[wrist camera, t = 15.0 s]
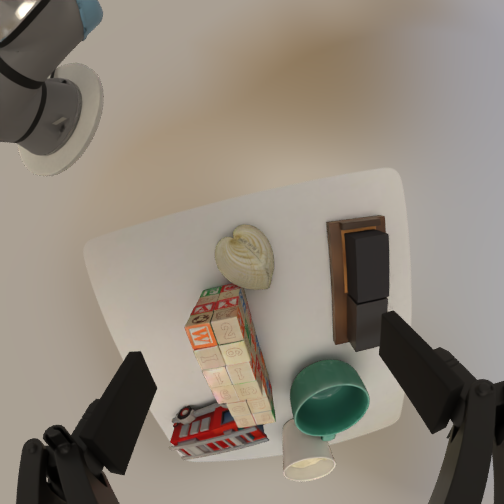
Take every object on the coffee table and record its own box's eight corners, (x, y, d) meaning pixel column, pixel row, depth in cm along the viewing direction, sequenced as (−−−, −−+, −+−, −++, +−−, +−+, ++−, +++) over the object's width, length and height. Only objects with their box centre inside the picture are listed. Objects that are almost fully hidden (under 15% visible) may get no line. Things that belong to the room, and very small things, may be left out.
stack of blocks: (272, 386, 45) (277, 436, 33) (239, 392, 45) (236, 442, 33) (241, 280, 41) (237, 316, 29) (201, 289, 41) (182, 327, 29)
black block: (344, 233, 37) (355, 239, 33) (374, 228, 37) (388, 234, 33) (347, 291, 39) (357, 303, 35) (376, 285, 39) (389, 296, 35)
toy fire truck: (272, 408, 47) (275, 446, 37) (197, 435, 49) (190, 469, 39) (247, 380, 45) (246, 420, 35) (170, 411, 47) (159, 445, 37)
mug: (289, 353, 44) (297, 389, 34) (358, 347, 44) (378, 378, 34) (284, 416, 47) (289, 451, 38) (344, 410, 47) (356, 442, 38)
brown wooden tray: (326, 222, 39) (338, 227, 33) (380, 215, 38) (399, 219, 33) (333, 340, 43) (343, 360, 37) (380, 329, 43) (395, 346, 37)
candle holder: (333, 423, 48) (345, 464, 36) (298, 444, 50) (305, 485, 38) (304, 406, 47) (314, 452, 35) (269, 429, 48) (271, 473, 37)
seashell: (253, 206, 36) (294, 248, 33) (254, 237, 44) (288, 273, 41) (202, 241, 34) (241, 289, 31) (212, 267, 42) (245, 307, 39)
